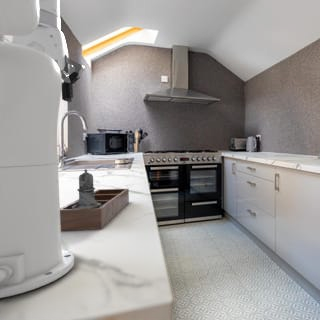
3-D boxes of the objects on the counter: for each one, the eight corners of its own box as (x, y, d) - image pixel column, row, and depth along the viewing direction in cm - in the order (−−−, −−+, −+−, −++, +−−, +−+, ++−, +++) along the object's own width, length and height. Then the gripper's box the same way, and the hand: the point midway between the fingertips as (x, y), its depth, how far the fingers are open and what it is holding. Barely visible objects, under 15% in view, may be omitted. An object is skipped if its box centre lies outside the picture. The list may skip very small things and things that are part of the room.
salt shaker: (107, 217, 62) (105, 167, 62) (91, 225, 57) (89, 170, 56) (84, 216, 63) (82, 167, 62) (65, 224, 57) (63, 170, 56)
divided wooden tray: (101, 228, 56) (100, 208, 56) (56, 231, 55) (55, 210, 54) (128, 202, 81) (128, 188, 80) (98, 203, 79) (98, 189, 79)
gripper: (-17, 12, 54) (-12, 96, 55) (74, 20, 57) (77, 99, 58) (8, 28, 61) (12, 101, 63) (88, 34, 65) (90, 103, 66)
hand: (44, 100), depth 60 cm, fingers open, 9 cm apart
